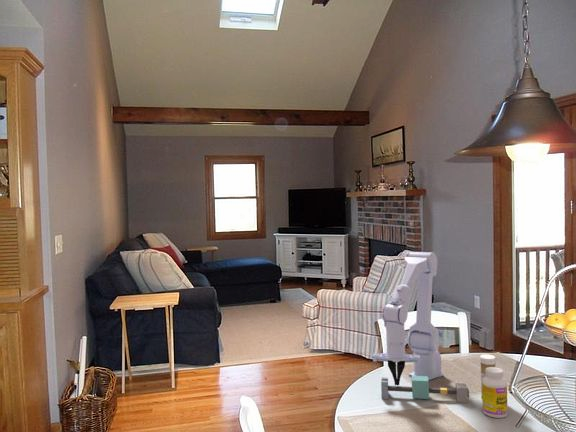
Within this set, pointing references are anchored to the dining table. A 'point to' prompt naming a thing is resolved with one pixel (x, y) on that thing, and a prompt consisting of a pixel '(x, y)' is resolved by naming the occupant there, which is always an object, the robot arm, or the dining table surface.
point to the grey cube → (462, 393)
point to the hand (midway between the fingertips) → (397, 384)
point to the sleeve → (420, 387)
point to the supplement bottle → (494, 393)
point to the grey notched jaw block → (384, 388)
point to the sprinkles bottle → (486, 364)
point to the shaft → (431, 390)
